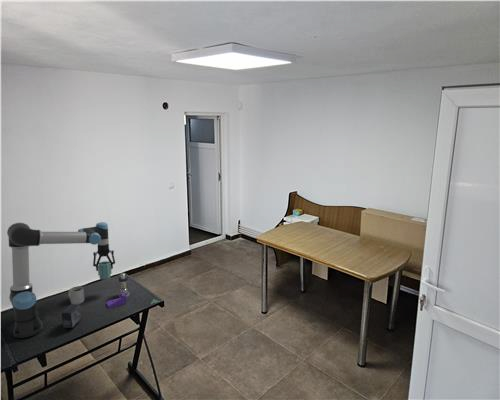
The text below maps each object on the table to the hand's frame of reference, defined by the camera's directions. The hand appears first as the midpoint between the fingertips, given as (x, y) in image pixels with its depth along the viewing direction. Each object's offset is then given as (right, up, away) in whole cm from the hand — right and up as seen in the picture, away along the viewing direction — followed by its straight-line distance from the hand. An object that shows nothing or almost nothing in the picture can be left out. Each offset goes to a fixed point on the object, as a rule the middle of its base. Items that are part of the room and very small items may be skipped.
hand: (104, 273), depth 247 cm
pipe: (+13, -16, +4) cm, 21 cm away
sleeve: (0, -3, +1) cm, 3 cm away
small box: (-7, -25, -32) cm, 41 cm away
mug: (-18, -19, -5) cm, 27 cm away
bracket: (+11, -20, -7) cm, 24 cm away
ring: (+13, -5, +2) cm, 14 cm away
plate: (+13, -17, +4) cm, 22 cm away
